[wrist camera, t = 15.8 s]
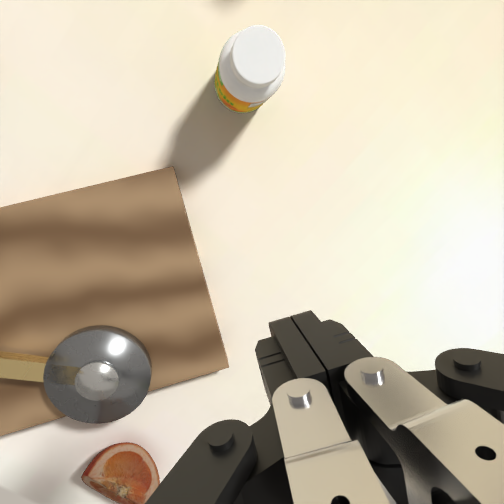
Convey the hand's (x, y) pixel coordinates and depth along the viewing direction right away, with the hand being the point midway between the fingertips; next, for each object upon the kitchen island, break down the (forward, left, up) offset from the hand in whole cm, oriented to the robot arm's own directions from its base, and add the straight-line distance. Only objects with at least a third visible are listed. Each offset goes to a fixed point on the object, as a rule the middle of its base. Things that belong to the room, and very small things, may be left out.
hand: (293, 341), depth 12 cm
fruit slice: (-24, +18, -27) cm, 41 cm away
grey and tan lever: (-9, +21, -25) cm, 33 cm away
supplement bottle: (+13, -5, -27) cm, 31 cm away
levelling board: (-4, +16, -27) cm, 32 cm away
